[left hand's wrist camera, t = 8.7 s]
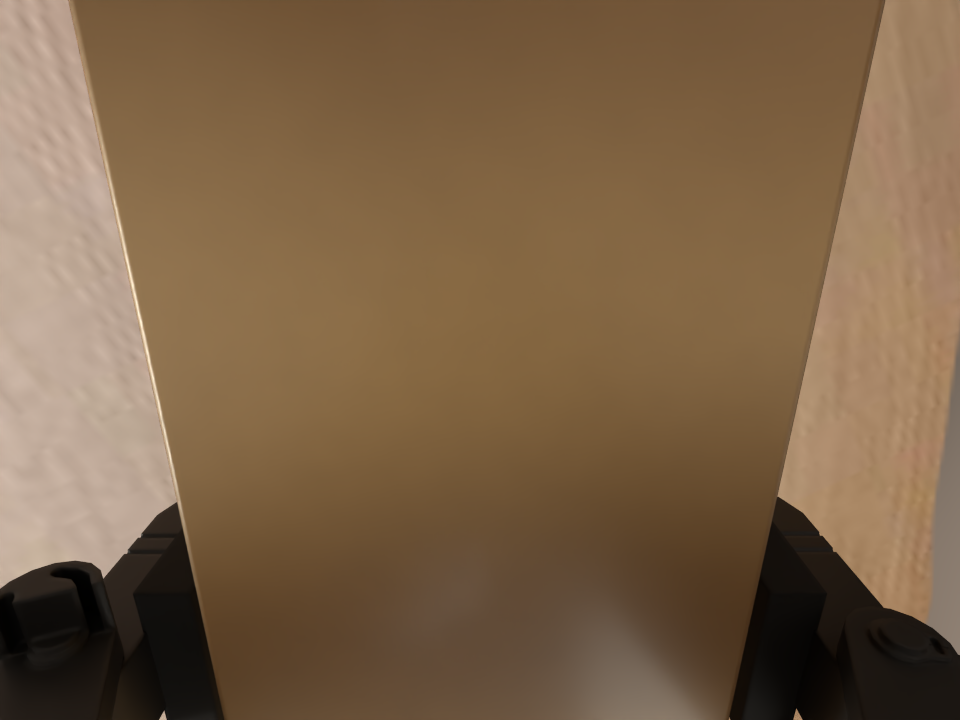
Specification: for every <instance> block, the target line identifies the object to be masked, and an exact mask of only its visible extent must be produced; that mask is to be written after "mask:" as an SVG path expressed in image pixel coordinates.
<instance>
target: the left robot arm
mask: <svg viewBox="0 0 960 720" xmlns="http://www.w3.org/2000/svg"><path fill="white" fill-rule="evenodd" d="M796 708H797V710H798V712H799V714H800V716H801V717H802V719H803V720H960V655H958V654H957V653H956V651H955V650H954V648H953V647H952V645H951V644H950V643H949V642H948V641H947V640H946V639H945V638H943V637H942V636H941V635H940V634H939V633H938V632H937V631H935V630H934V629H933V628H931V627H929V626H928V625H926V624H924V623H922V622H921V621H919V620H917V619H915V618H914V617H912V616H909V615H906V614H903V613H901V612H898V611H895V610H892V609H887V608H883V606H882V605H881V604H880V603H879V602H878V601H877V599H876V598H875V597H874V596H873V595H872V593H871V592H870V591H869V590H868V589H867V588H866V586H865V585H864V584H863V583H862V582H861V581H860V579H859V578H858V577H857V576H856V575H855V574H854V572H853V571H852V570H851V569H850V568H849V567H848V565H847V564H846V563H845V562H844V561H843V559H842V558H841V557H840V556H839V555H838V554H837V552H833V548H832V547H831V545H830V544H829V543H828V542H827V541H826V540H825V538H824V537H823V536H820V535H819V531H818V530H817V529H816V528H815V527H814V525H813V524H812V523H811V522H810V521H809V520H808V518H807V517H806V516H805V515H804V514H803V513H802V512H801V511H799V510H798V509H796V508H794V507H793V506H791V505H790V504H788V503H787V502H785V501H784V500H782V499H781V498H779V497H777V500H776V504H775V509H774V513H773V518H772V523H771V527H770V532H769V536H768V541H767V546H766V550H765V555H764V559H763V564H762V569H761V573H760V578H759V582H758V587H757V591H756V596H755V601H754V605H753V610H752V614H751V619H750V624H749V628H748V633H747V637H746V642H745V647H744V651H743V656H742V660H741V665H740V670H739V674H738V679H737V683H736V688H735V692H734V697H733V702H732V706H731V711H730V715H729V717H730V719H731V720H793V718H794V715H795V711H796ZM163 711H165V715H166V718H167V720H224V716H223V711H222V707H221V702H220V698H219V693H218V688H217V684H216V679H215V674H214V670H213V665H212V661H211V656H210V651H209V647H208V642H207V638H206V633H205V628H204V624H203V619H202V615H201V610H200V605H199V601H198V596H197V591H196V587H195V582H194V578H193V573H192V568H191V564H190V559H189V555H188V550H187V545H186V541H185V536H184V532H183V527H182V522H181V518H180V513H179V508H178V504H177V502H176V503H175V504H173V505H172V506H170V507H169V508H167V509H166V510H164V511H163V512H161V513H160V514H158V515H157V516H156V517H155V518H154V520H153V521H152V522H151V523H150V524H149V526H148V527H147V528H146V529H145V530H144V531H143V533H142V534H141V538H138V539H137V540H136V541H135V542H134V543H133V544H132V546H131V547H130V548H129V549H128V553H127V554H124V555H123V556H122V557H121V559H120V560H119V561H118V562H117V563H116V565H115V566H114V567H113V568H112V569H111V570H110V572H109V573H108V574H107V575H106V576H105V578H104V579H103V577H102V573H101V570H100V569H98V568H97V567H96V566H94V565H93V564H92V563H87V562H81V561H69V562H61V563H54V564H51V565H48V566H44V567H41V568H38V569H35V570H32V571H30V572H28V573H26V574H24V575H22V576H20V577H18V578H16V579H14V580H12V581H10V582H9V583H7V584H6V585H5V586H3V587H2V588H1V589H0V720H159V719H160V717H161V715H162V713H163Z"/></svg>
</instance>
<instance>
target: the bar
mask: <svg viewBox="0 0 960 720" xmlns="http://www.w3.org/2000/svg"><path fill="white" fill-rule="evenodd" d="M68 1H69V6H70V10H71V15H72V20H73V24H74V29H75V34H76V38H77V43H78V47H79V52H80V57H81V61H82V66H83V70H84V75H85V80H86V84H87V89H88V93H89V98H90V103H91V107H92V112H93V117H94V121H95V126H96V130H97V135H98V140H99V144H100V149H101V153H102V158H103V163H104V167H105V172H106V176H107V181H108V186H109V190H110V195H111V200H112V204H113V209H114V213H115V218H116V223H117V227H118V232H119V236H120V241H121V246H122V250H123V255H124V259H125V264H126V269H127V273H128V278H129V283H130V287H131V292H132V296H133V301H134V306H135V310H136V315H137V319H138V324H139V329H140V333H141V338H142V342H143V347H144V352H145V356H146V361H147V366H148V370H149V375H150V379H151V384H152V389H153V393H154V398H155V402H156V407H157V412H158V416H159V421H160V425H161V430H162V435H163V439H164V444H165V449H166V453H167V458H168V462H169V467H170V472H171V476H172V481H173V485H174V490H175V495H176V499H177V504H178V508H179V513H180V518H181V522H182V527H183V532H184V536H185V541H186V545H187V550H188V555H189V559H190V564H191V568H192V573H193V578H194V582H195V587H196V591H197V596H198V601H199V605H200V610H201V615H202V619H203V624H204V628H205V633H206V638H207V642H208V647H209V651H210V656H211V661H212V665H213V670H214V674H215V679H216V684H217V688H218V693H219V698H220V702H221V707H222V711H223V716H224V720H729V715H730V711H731V706H732V702H733V697H734V692H735V688H736V683H737V679H738V674H739V670H740V665H741V660H742V656H743V651H744V647H745V642H746V637H747V633H748V628H749V624H750V619H751V614H752V610H753V605H754V601H755V596H756V591H757V587H758V582H759V578H760V573H761V569H762V564H763V559H764V555H765V550H766V546H767V541H768V536H769V532H770V527H771V523H772V518H773V513H774V509H775V504H776V500H777V495H778V490H779V486H780V481H781V477H782V472H783V468H784V463H785V458H786V454H787V449H788V445H789V440H790V435H791V431H792V426H793V422H794V417H795V412H796V408H797V403H798V399H799V394H800V389H801V385H802V380H803V376H804V371H805V367H806V362H807V357H808V353H809V348H810V344H811V339H812V334H813V330H814V325H815V321H816V316H817V311H818V307H819V302H820V298H821V293H822V288H823V284H824V279H825V275H826V270H827V266H828V261H829V256H830V252H831V247H832V243H833V238H834V233H835V229H836V224H837V220H838V215H839V210H840V206H841V201H842V197H843V192H844V187H845V183H846V178H847V174H848V169H849V165H850V160H851V155H852V151H853V146H854V142H855V137H856V132H857V128H858V123H859V119H860V114H861V109H862V105H863V100H864V96H865V91H866V86H867V82H868V77H869V73H870V68H871V64H872V59H873V54H874V50H875V45H876V41H877V36H878V31H879V27H880V22H881V18H882V13H883V8H884V4H885V0H68Z"/></svg>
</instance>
